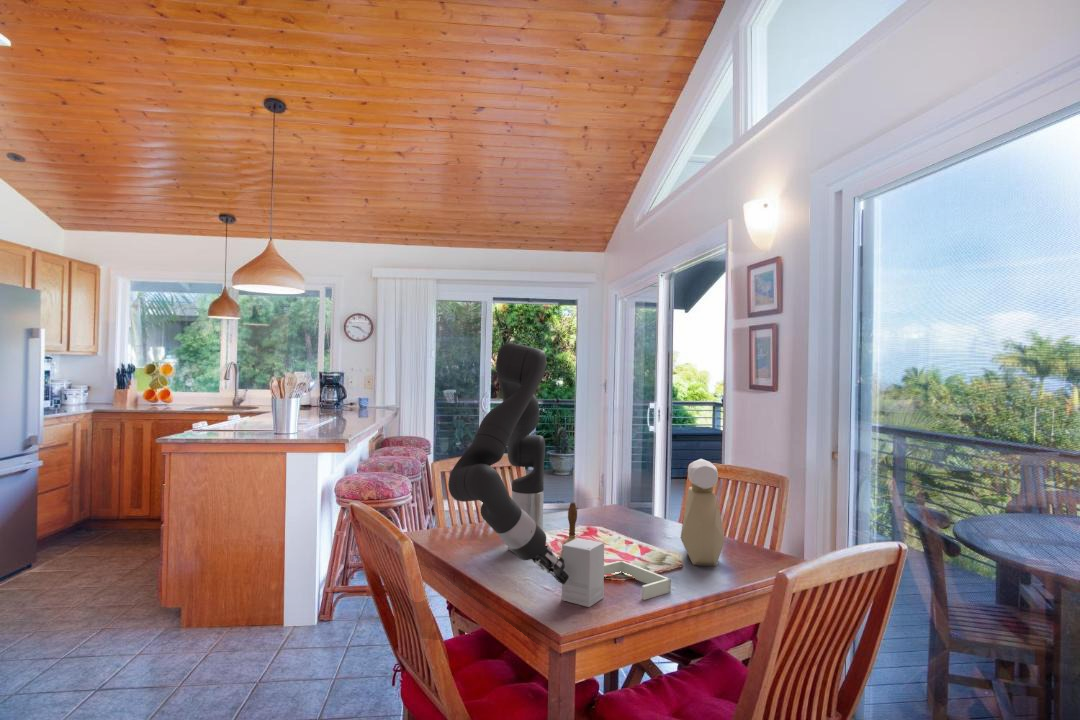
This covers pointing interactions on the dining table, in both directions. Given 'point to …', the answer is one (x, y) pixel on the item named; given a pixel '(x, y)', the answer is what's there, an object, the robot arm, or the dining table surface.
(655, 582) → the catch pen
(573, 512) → the hand bell
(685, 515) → the perfume bottle
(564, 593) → the supplement box
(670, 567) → the dining table surface
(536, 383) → the robot arm
